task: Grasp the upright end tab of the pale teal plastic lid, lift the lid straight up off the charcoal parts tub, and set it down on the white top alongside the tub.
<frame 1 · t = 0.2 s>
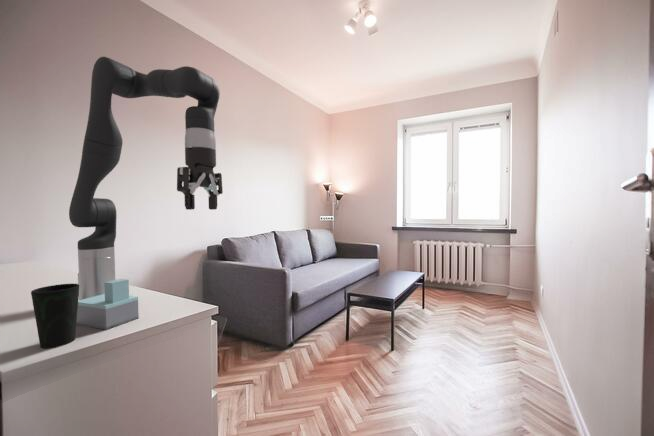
hand: (202, 209, 77), 29 cm above the table, fingers open, 8 cm apart
lid: (107, 305, 75), point 4 cm above the table, touching tub
cup: (58, 343, 63), on the table
tub: (107, 321, 75), on the table
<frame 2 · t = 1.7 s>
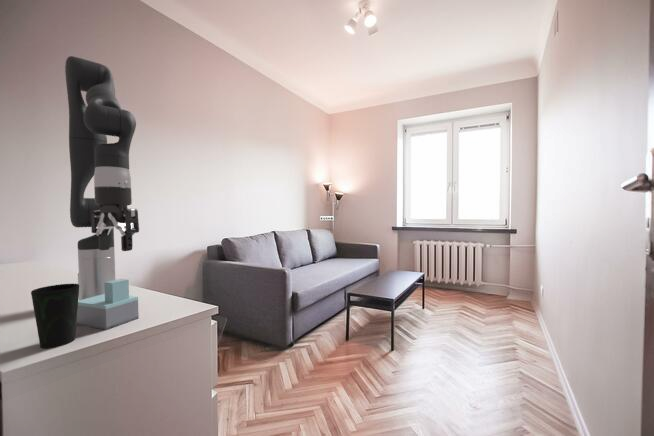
hand: (115, 250, 73), 19 cm above the table, fingers open, 8 cm apart
nothing on the table moved.
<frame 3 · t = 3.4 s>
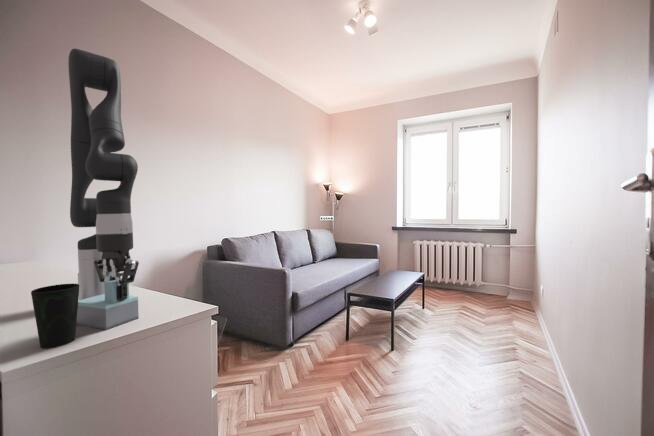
hand: (117, 299, 74), 6 cm above the table, fingers closed on lid, 3 cm apart
lid: (107, 305, 75), point 4 cm above the table, touching gripper
everything else where it was.
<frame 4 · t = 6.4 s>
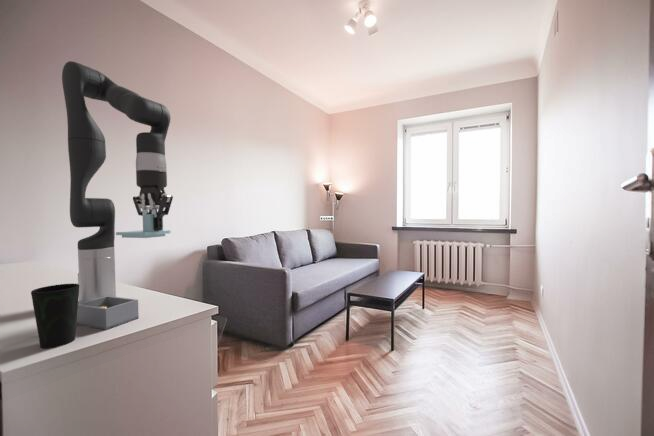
hand: (153, 230, 83), 23 cm above the table, fingers closed on lid, 3 cm apart
lid: (143, 236, 85), point 21 cm above the table, touching gripper
everything else where it was.
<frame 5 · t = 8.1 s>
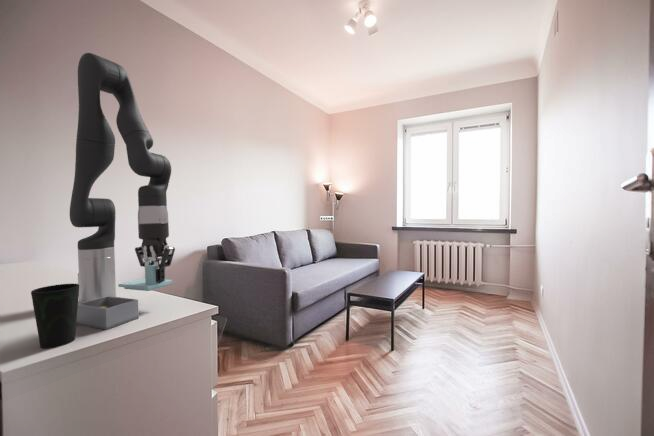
hand: (155, 281, 84), 8 cm above the table, fingers closed on lid, 3 cm apart
lid: (146, 287, 85), point 6 cm above the table, touching gripper
everything else where it was.
when the fingers open (4 cm above the table, at t = 9.3 s): lid drops 2 cm, on the table.
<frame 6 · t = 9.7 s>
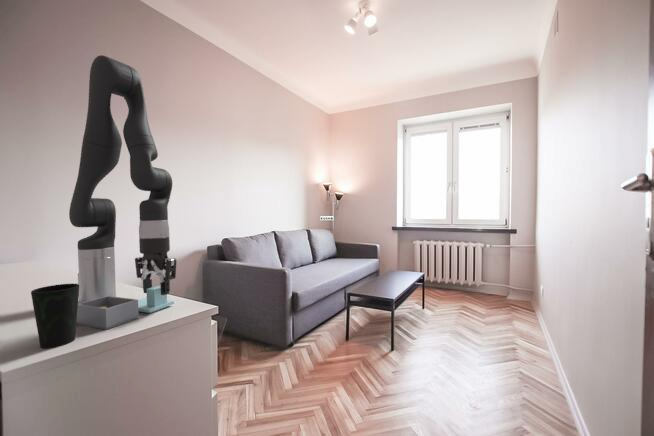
hand: (156, 293, 84), 5 cm above the table, fingers open, 6 cm apart
lid: (147, 308, 85), on the table
everything else where it was.
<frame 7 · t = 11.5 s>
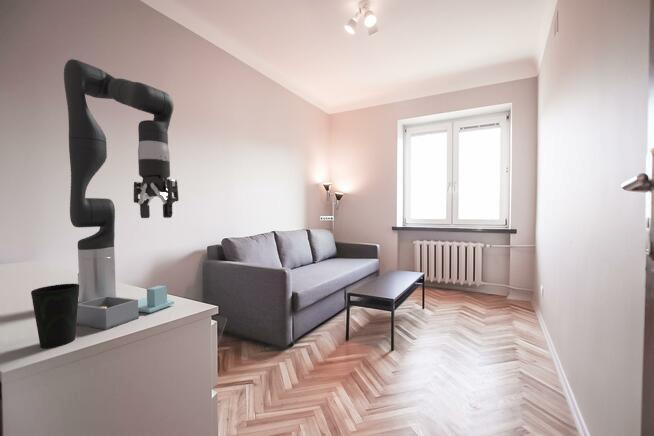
hand: (156, 217, 81), 27 cm above the table, fingers open, 8 cm apart
nothing on the table moved.
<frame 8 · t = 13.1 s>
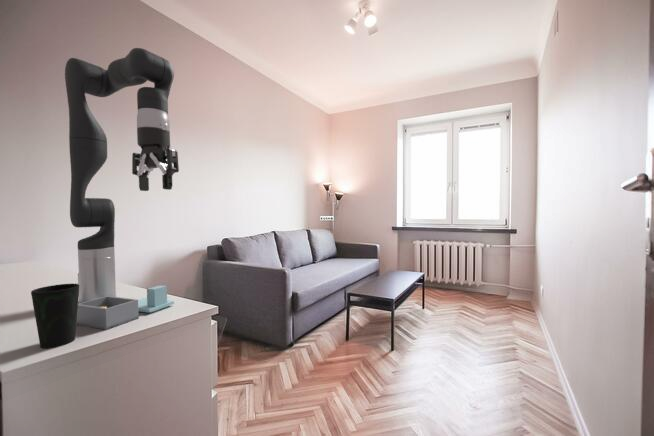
hand: (155, 190, 78), 34 cm above the table, fingers open, 8 cm apart
nothing on the table moved.
at the end: lid inside the target area (0.5 cm from its centre), on the table; lid touching table; lid tilted 0° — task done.
